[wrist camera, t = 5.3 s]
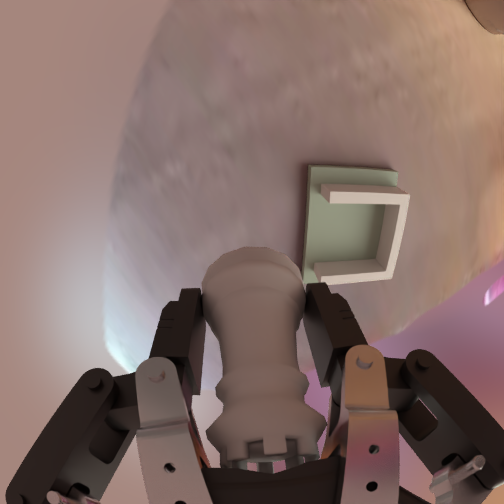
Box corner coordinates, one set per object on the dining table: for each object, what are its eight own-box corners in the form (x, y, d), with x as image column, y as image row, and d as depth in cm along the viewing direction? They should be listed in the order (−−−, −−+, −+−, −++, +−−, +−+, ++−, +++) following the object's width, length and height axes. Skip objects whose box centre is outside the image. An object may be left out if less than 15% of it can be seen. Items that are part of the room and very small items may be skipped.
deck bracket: (308, 164, 23) (319, 173, 20) (393, 169, 23) (412, 178, 20) (300, 278, 29) (308, 298, 26) (374, 272, 29) (388, 290, 26)
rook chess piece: (315, 251, 11) (392, 423, 4) (284, 326, 14) (313, 477, 7) (211, 231, 11) (182, 429, 4) (196, 313, 13) (178, 476, 6)
